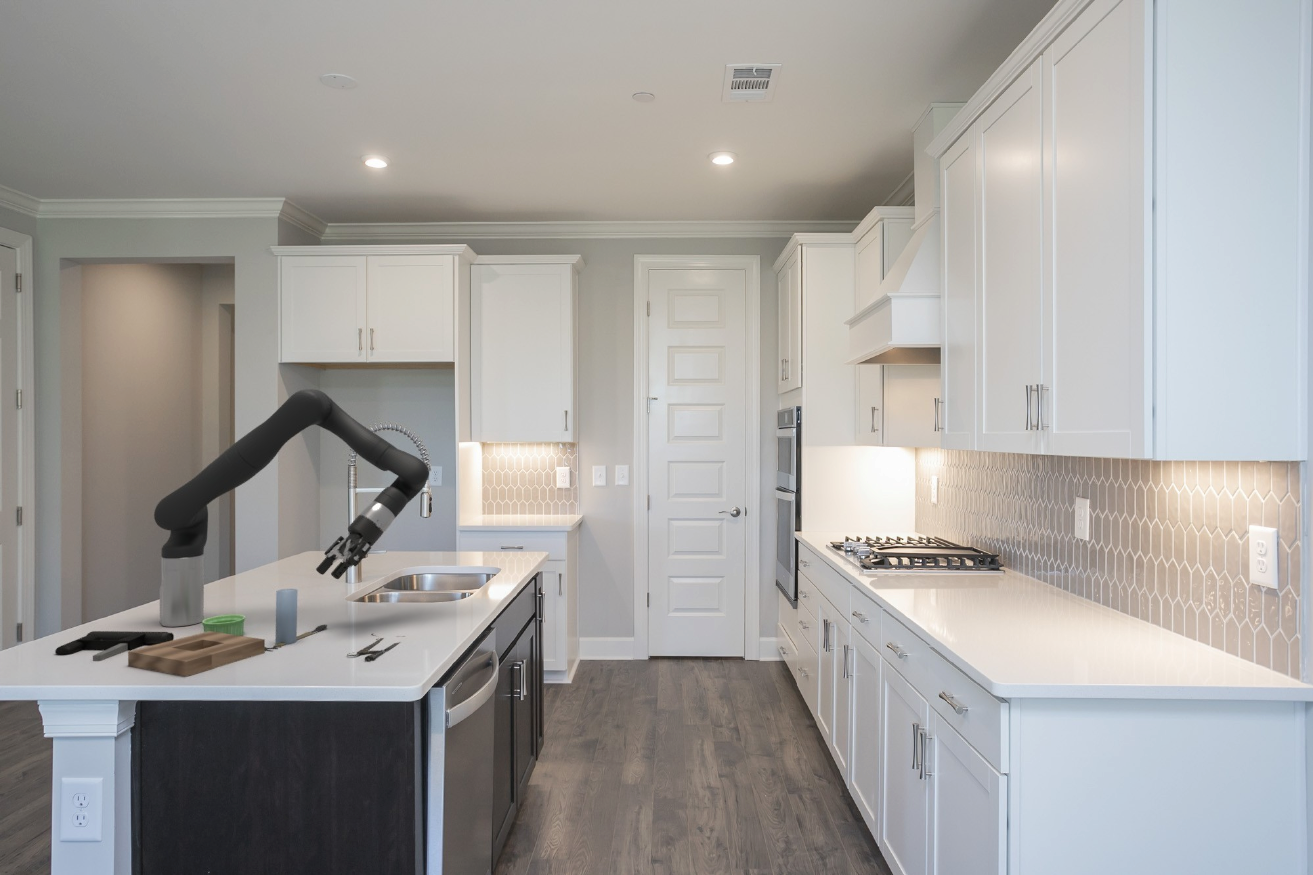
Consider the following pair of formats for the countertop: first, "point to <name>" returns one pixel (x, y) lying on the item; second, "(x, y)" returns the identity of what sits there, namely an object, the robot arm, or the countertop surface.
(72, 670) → the countertop surface
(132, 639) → the black angled piece
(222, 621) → the ramekin
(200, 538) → the robot arm
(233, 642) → the socket block
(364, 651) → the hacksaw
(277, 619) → the pin
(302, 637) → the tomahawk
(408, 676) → the countertop surface
